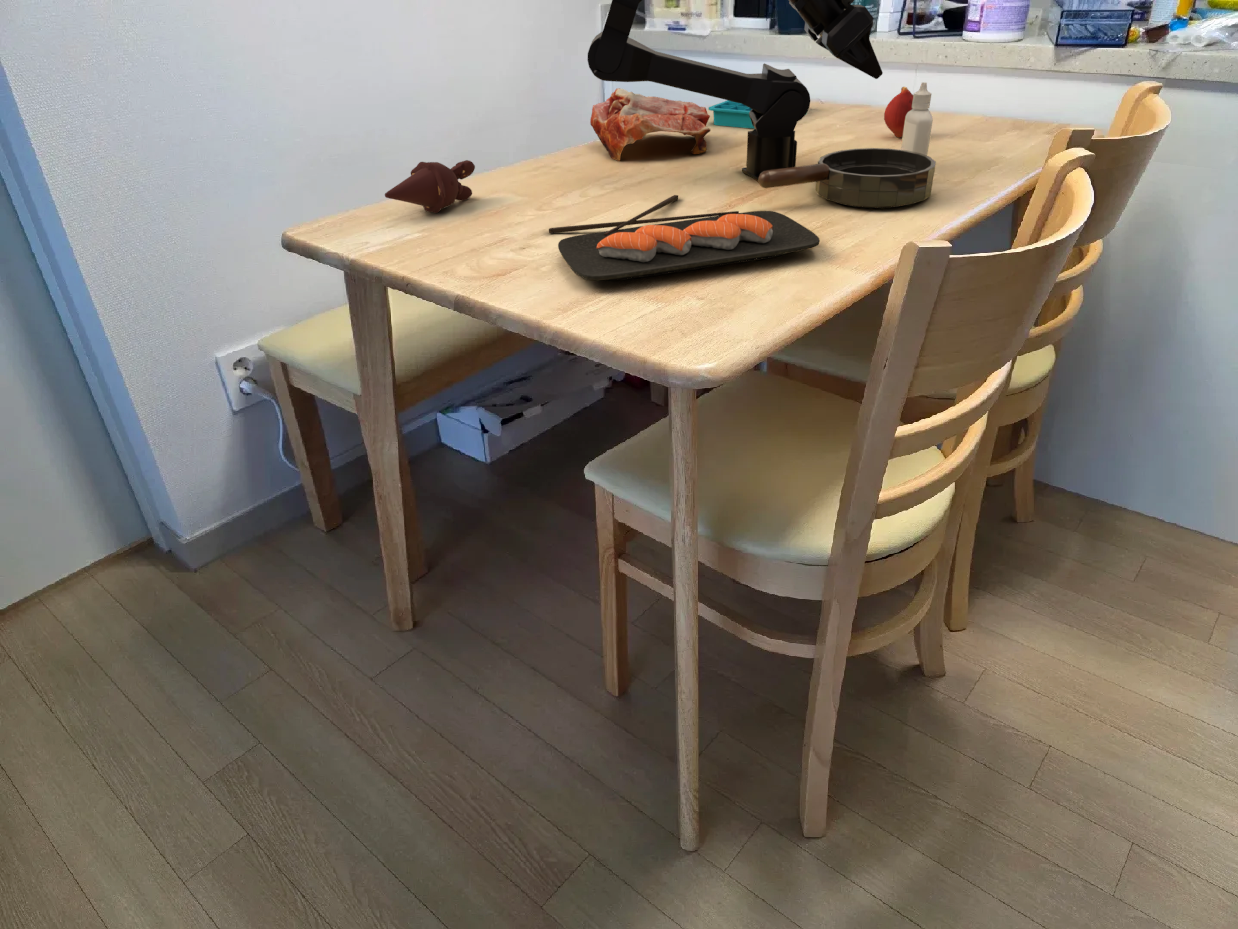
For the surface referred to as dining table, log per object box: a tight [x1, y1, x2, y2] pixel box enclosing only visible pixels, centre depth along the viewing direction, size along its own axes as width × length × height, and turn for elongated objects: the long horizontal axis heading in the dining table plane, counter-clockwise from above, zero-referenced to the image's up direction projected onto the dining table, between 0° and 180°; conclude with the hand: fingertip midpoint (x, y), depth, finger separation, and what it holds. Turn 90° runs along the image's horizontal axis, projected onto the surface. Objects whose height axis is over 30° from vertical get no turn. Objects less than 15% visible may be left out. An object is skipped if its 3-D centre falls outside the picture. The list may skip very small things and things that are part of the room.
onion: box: [883, 86, 914, 139], centre depth 139 cm, size 6×6×8 cm
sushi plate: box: [548, 194, 821, 281], centre depth 102 cm, size 29×30×4 cm
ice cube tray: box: [708, 100, 755, 130], centre depth 159 cm, size 12×20×3 cm, turn 145°
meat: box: [589, 87, 711, 162], centre depth 140 cm, size 21×21×10 cm
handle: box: [757, 163, 830, 189], centre depth 109 cm, size 10×2×2 cm, turn 107°
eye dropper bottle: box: [900, 81, 934, 156], centre depth 120 cm, size 4×6×12 cm
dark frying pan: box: [815, 147, 937, 209], centre depth 112 cm, size 15×15×4 cm
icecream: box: [384, 159, 476, 214], centre depth 115 cm, size 7×7×15 cm
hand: (871, 71), depth 117 cm, fingers open, 9 cm apart
